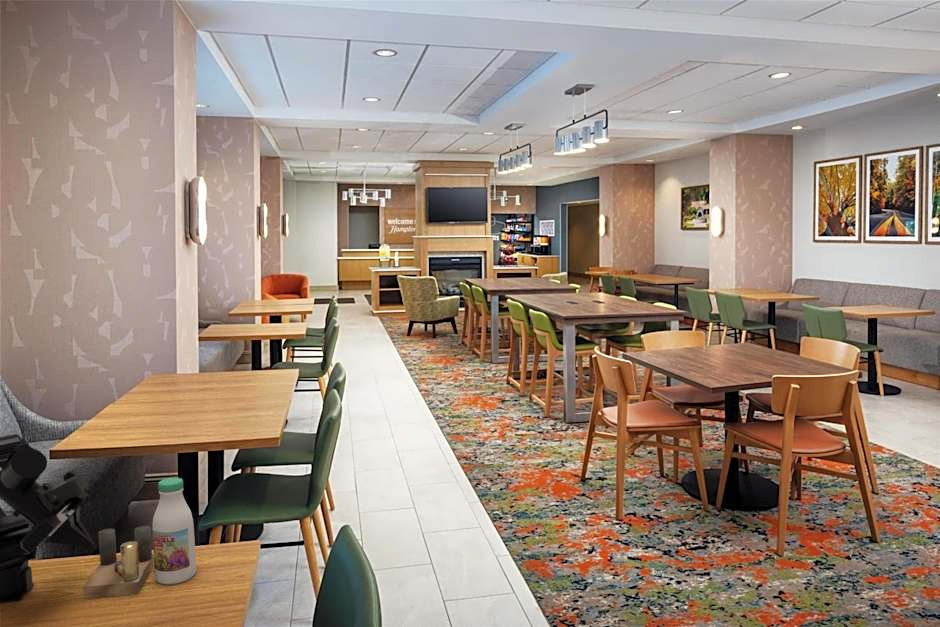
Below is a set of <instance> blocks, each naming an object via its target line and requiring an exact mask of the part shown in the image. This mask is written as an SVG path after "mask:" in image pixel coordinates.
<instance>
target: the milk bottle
mask: <svg viewBox="0 0 940 627" xmlns="http://www.w3.org/2000/svg"><path fill="white" fill-rule="evenodd" d="M157 488H158V494H159V501H158V505H157V508H156V510H155V511H154V515H153V518H152V527H151V528H152V548H153V550H152V554H153V558H154V568H153V569H154V579H155V581H156V583H157V582H158V583H159V584H162V585H175V584H176V585H177V584H180V583H183V582H186V581H188V580H190V579H191V578H193V577H194V576H195V575H196V571H197V563H196V561H197V560H196V542H195V541H196V540H195V528H194V527H195V526H194V519H193V514H192V510H191V509H190V507H189V505H188V504H187V502H186V499H185V497H184V494H183V491H184V479H183V478H182V477H181V478H180V477H169V478H168V477H166V478H164V479H162V480H159V481H158V484H157Z"/></svg>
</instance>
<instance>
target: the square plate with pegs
mask: <svg viewBox="0 0 940 627" xmlns="http://www.w3.org/2000/svg"><path fill="white" fill-rule="evenodd" d="M133 530H134V541H135V542H137V543H138V558H139V574H140V576H139V577H138V578H136V579H134V580H129V581H125V580H123V579H122V574H121V573H120V572H118V566H120V565H122V564H121V557H117V540H116V530H115V528H105V529H102V530H100V531H98V547H99V548H98V550H99V565H98V566H97V568H96V569H95V570H94V572H93V573H92V574H91V575H90V577H89V579H87V580H86V583H85V584H84V585H83V586H82V590H83V600H91V599H90V598H94V599H101V598H102V597H104V598H113V597H124V596H135V595H139V593H140V591H141V590H142V588H143V586H145V583H146V582H147V579H148V578H149V576H150V574H151V573H150V572H152V571H153V569H154V568H153V567H154V554H153V550H152V548H153V547H152V534H151V532H152V531H151V526H149V525H141V526H138V527H135V528H134V529H133ZM151 570H152V571H151Z"/></svg>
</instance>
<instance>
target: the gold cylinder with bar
mask: <svg viewBox="0 0 940 627" xmlns="http://www.w3.org/2000/svg"><path fill="white" fill-rule="evenodd" d="M119 548H120V558H121V564H122V565H120V566H118V572H120V573H121V574H122V579H123V580H125V581H129V580H134V579H136V578H138V577H139V576H140V574H139V558H138V543H137V542H135V540H134V541H126V542H124V543H122V544H121V545H120V547H119Z"/></svg>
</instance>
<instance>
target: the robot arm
mask: <svg viewBox="0 0 940 627" xmlns="http://www.w3.org/2000/svg"><path fill="white" fill-rule="evenodd" d="M47 465H48V459H47V456H46V455H44V453H43V452H41V451H40V450H37V449H36V448H34V447H32V446H31V445H29V443H28V442H27V441H26V440H25V439H24V438H22V437H21V436H20V435H19V434H18V433H13V434H7V435H3V436H0V469H1V470H0V500H1V501H2V502H4V503H5V504H7V505H8V506H9V507H11V509H13V510H15V511H14V512H13V513H11V514H8V515H7V513H6V512H5V511H4V509H3V508H2V507H1V506H0V603H3V602H4V603H5V602H14V601H15V602H16V601H21V600H22V599H23V598H24V597H25V596H26V594H27V593H28V592H29V591H30V590H31V589H32V588H33V587H34V585H35V584H34V582H33V575H32V567H31V566H29V561H31V560H32V561H33V560H36V556H37V551H38V550H37V548H38V546H39V545H40V544H41V543H42V542H43V541H44V540H45V539H46V540H45V541H44V543H45V544H48V543H51V544H52V543H53V544H59V545H67V546H72V547H78V548H83V549H88V550H90V549H91V548H92V547H93V546H94V545H95V541H94V540H93V538H92V536H91V535H90V534H89V532H88V531H87V529H86V528H85V526H84V524H83V523H82V521H81V519H80V510H82V509H81V506H80V503H82V502H83V500H84V499H85V498H86V497H87V496H89V493H88V492H86V491H85V489H88V488H89V486H88V483H87V482H86V478H87V476H86V475H85V474H82V472H81V471H80V472H79V471H77V470H75V469H74V468H73V469H71V470H70V471H66V473H65V474H63V480H61V481H60V482H59V483H57V484H55V485H52V484H50V483H49V482H44V483H43V484H40V483H39V482H37V480H38V479H39V478H40V476H41V475H42V474H43V473H44V471H45V470H46V469H47ZM26 519H27V520H28V521H27V520H26ZM30 523H32V524H33V525H32V526H31V525H30ZM48 536H49V537H48ZM47 537H48V538H47Z"/></svg>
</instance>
